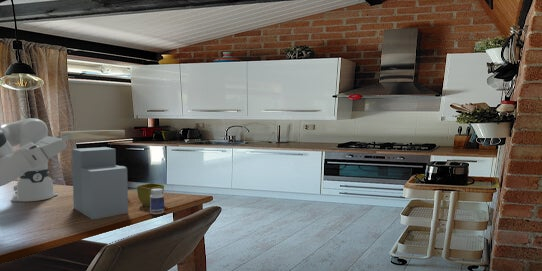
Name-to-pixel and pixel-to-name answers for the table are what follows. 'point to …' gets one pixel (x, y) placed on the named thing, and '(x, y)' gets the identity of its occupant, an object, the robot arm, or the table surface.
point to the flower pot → (147, 192)
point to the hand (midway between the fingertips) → (69, 134)
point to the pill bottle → (156, 201)
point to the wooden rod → (94, 134)
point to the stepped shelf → (99, 183)
